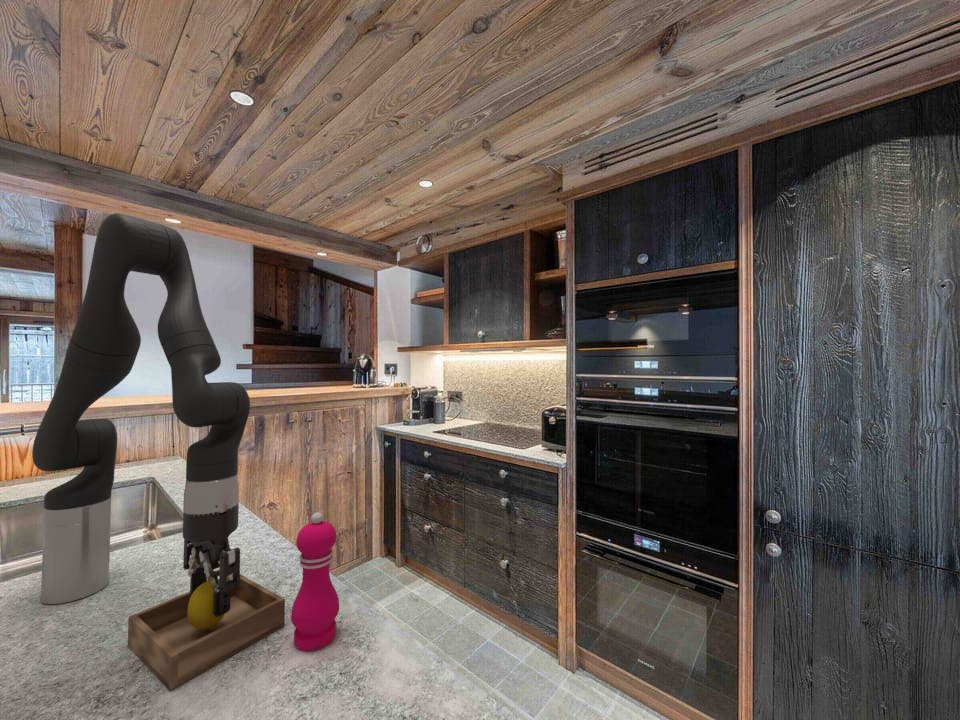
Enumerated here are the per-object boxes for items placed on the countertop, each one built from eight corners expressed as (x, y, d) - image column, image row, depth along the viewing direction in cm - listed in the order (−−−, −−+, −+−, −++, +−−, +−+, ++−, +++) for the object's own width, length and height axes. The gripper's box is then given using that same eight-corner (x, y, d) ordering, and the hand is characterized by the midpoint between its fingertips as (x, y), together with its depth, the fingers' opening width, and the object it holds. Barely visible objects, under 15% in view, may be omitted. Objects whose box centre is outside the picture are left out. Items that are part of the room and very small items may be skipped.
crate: (127, 645, 61) (128, 616, 61) (236, 596, 75) (236, 572, 75) (170, 691, 52) (171, 657, 53) (284, 625, 66) (284, 598, 66)
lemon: (206, 644, 60) (208, 591, 61) (177, 638, 62) (179, 586, 62) (235, 622, 66) (237, 573, 66) (209, 617, 67) (210, 569, 67)
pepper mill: (291, 660, 58) (293, 524, 59) (289, 631, 65) (291, 509, 65) (342, 644, 61) (343, 516, 62) (335, 618, 68) (337, 502, 68)
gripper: (166, 502, 65) (163, 602, 64) (206, 520, 57) (203, 634, 57) (216, 490, 71) (214, 582, 71) (258, 505, 63) (256, 608, 63)
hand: (209, 605), depth 64 cm, fingers open, 7 cm apart
